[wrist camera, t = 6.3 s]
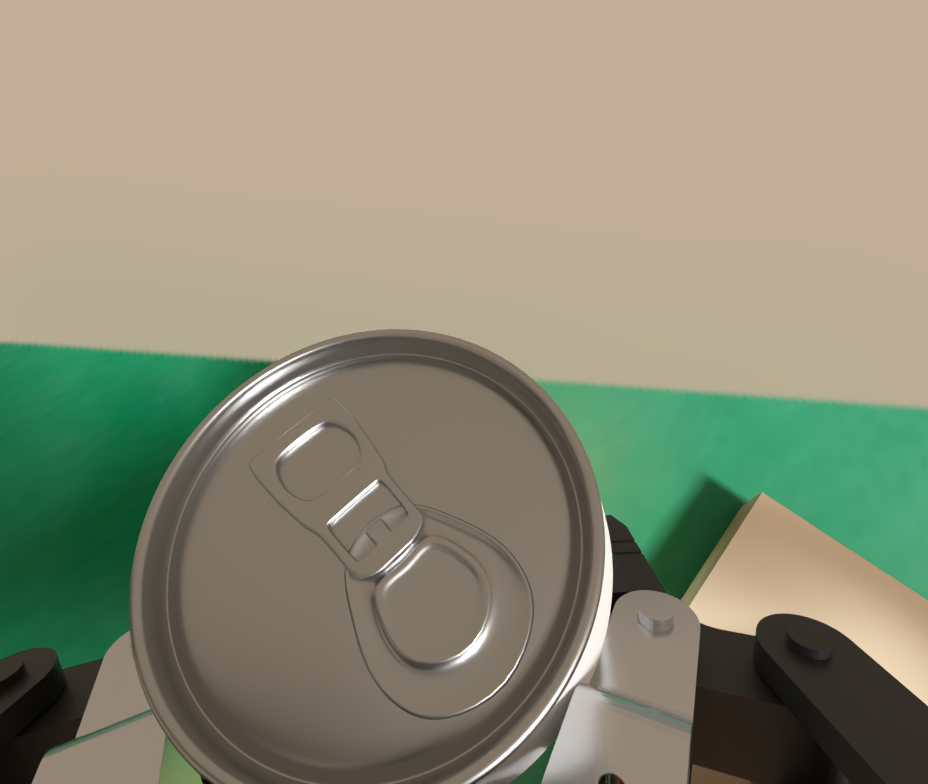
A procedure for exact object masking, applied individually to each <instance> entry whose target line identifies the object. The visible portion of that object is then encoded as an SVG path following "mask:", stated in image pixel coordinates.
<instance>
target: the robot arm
mask: <svg viewBox="0 0 928 784" xmlns="http://www.w3.org/2000/svg"><path fill="white" fill-rule="evenodd" d="M605 517H606V521H607V526H608V530H609V536H610V542H611V551H612V563H613V589H612V602H611V610H610V617H609V622H608V628H607V632H606V636H605V641H604V644H603V648H602V651H601V654H600V657H599V660H598V663H597V666H596V668H595V671H594V673H593V676H592V678H591V680H590V683H589V684H586V683H582V682H581V683H578V685H577V686H576V688H575V690H574V693H573V695H572V698H571V701H570V704H569V707H568V709H567V712H566V715H565V718H564V721H563V723H562V726H561V729H560V732H559V735H558V737H557V740H556V743H555V746H554V749H553V751H552V754H551V757H550V760H549V763H548V765H547V768H546V771H545V774H544V777H543V779H542V782H541V784H691V777H692V764H694V765H697V766H701V767H704V768H708V769H711V770H714V771H718V772H721V773H725V774H728V775H732V776H735V777H739V778H742V779H745V780H749V781H750V783H751V784H928V706H927V705H926V704H925V703H924V702H923V701H921V700H920V699H919V698H918V697H917V696H916V695H914V694H913V693H912V692H911V691H910V690H909V689H907V688H906V687H905V686H904V685H903V684H902V683H900V682H899V681H898V680H897V679H896V678H895V677H893V676H892V675H891V674H890V673H889V672H888V671H886V670H885V669H884V668H883V667H882V666H881V665H879V664H878V663H877V662H876V661H875V660H874V659H872V658H871V657H870V656H869V655H868V654H867V653H865V652H864V651H863V650H862V649H861V648H860V647H859V646H857V645H856V644H855V643H854V642H853V641H852V640H850V639H849V638H848V637H846V636H845V635H844V634H842V633H841V632H839V631H838V630H836V629H834V628H833V627H831V626H829V625H827V624H825V623H822V622H820V621H818V620H815V619H812V618H809V617H805V616H801V615H795V614H785V613H781V614H773V615H769V616H766V617H764V618H763V619H761V620H760V621H759V623H758V624H757V627H756V634H755V636H753V635H748V634H743V633H737V632H732V631H727V630H722V629H717V628H713V627H710V626H707V625H704V624H702V623H700V622H699V619H698V617H697V616H696V614H695V613H694V611H693V610H692V609H691V608H690V607H689V606H688V605H687V604H685V603H684V602H682V601H681V600H679V599H677V598H675V597H673V596H671V595H668V594H666V593H665V591H664V589H663V588H662V586H661V584H660V583H659V581H658V579H657V578H656V576H655V574H654V572H653V571H652V569H651V567H650V566H649V564H648V562H647V561H646V559H645V557H644V555H643V554H641V550H640V549H639V547H638V545H637V544H636V543H635V541H634V538H633V537H632V535H631V533H630V532H629V530H628V528H627V527H626V526H625V525H624V524H622V523H621V522H620V521H618V520H617V519H615V518H614V517H613V516H611V515H607V516H605ZM0 784H210V783H209V782H208V781H206V780H205V779H204V778H203V777H202V776H201V775H199V774H198V773H197V772H196V771H195V770H194V769H193V768H192V767H191V766H190V765H189V764H188V763H187V762H186V761H185V760H184V758H183V757H182V756H181V755H180V754H179V753H178V752H177V750H176V749H175V748H174V746H173V745H172V744H171V742H170V741H169V739H168V738H167V736H166V735H165V733H164V732H163V730H162V729H161V727H160V725H159V724H158V722H157V720H156V718H155V716H154V714H153V712H152V710H151V708H150V706H149V704H148V702H147V699H146V697H145V694H144V692H143V689H142V686H141V683H140V680H139V677H138V673H137V670H136V665H135V661H134V657H133V651H132V645H131V637H130V631H128V632H127V633H125V634H124V635H123V636H121V637H120V638H119V639H118V640H117V641H115V642H114V643H113V645H112V646H111V647H110V648H109V649H108V651H107V652H106V654H105V656H104V658H102V659H99V660H95V661H91V662H88V663H84V664H81V665H77V666H73V667H70V668H66V669H62V667H61V665H60V662H59V659H58V656H57V654H56V652H55V651H54V650H53V649H50V648H35V649H29V650H25V651H22V652H19V653H16V654H13V655H11V656H8V657H6V658H4V659H2V660H0Z"/></svg>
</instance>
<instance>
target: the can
mask: <svg viewBox="0 0 928 784" xmlns="http://www.w3.org/2000/svg"><path fill="white" fill-rule="evenodd" d="M612 589H613V563H612V551H611V542H610V536H609V530H608V526H607V521H606V517H605V513H604V510H603V506H602V503H601V499H600V495H599V490H598V486H597V482H596V479H595V476H594V473H593V469H592V467H591V464H590V461H589V459H588V456H587V454H586V452H585V449H584V447H583V445H582V443H581V441H580V439H579V437H578V436H577V434H576V432H575V430H574V428H573V427H572V425H571V424H570V422H569V421H568V419H567V418H566V416H565V415H564V413H563V412H562V411H561V409H560V408H559V407H558V405H557V404H556V403H555V402H554V401H553V399H552V398H551V397H550V396H549V395H548V394H547V393H546V392H545V391H544V390H543V389H542V388H541V387H540V386H539V385H538V384H537V383H536V382H535V381H534V380H533V379H532V378H530V377H529V376H528V375H527V374H526V373H524V372H523V371H522V370H520V369H519V368H518V367H516V366H515V365H513V364H512V363H510V362H509V361H507V360H505V359H504V358H502V357H500V356H499V355H497V354H495V353H493V352H491V351H489V350H487V349H485V348H483V347H480V346H478V345H476V344H473V343H470V342H468V341H465V340H462V339H459V338H455V337H452V336H447V335H443V334H438V333H433V332H426V331H418V330H400V329H397V330H396V329H395V330H394V329H393V330H392V329H390V330H375V331H366V332H359V333H353V334H349V335H345V336H340V337H336V338H332V339H329V340H325V341H322V342H319V343H317V344H314V345H311V346H308V347H306V348H303V349H301V350H299V351H297V352H294V353H292V354H290V355H289V356H286V357H284V358H282V359H280V360H278V361H276V362H275V363H273V364H271V365H270V366H268V367H266V368H265V369H263V370H261V371H260V372H258V373H257V374H255V375H254V376H252V377H251V378H250V379H248V380H247V381H246V382H244V383H243V384H241V385H240V386H239V387H238V388H236V389H235V390H234V391H233V392H232V393H230V394H229V395H228V396H227V397H226V398H225V399H224V400H223V401H221V402H220V403H219V404H218V405H217V406H216V407H215V408H214V409H213V410H212V411H211V412H210V413H209V414H208V415H207V416H206V417H205V419H204V420H203V421H202V422H201V423H200V424H199V425H198V426H197V428H196V429H195V430H194V431H193V433H192V434H191V435H190V436H189V438H188V439H187V440H186V442H185V443H184V444H183V446H182V447H181V449H180V450H179V451H178V453H177V454H176V456H175V458H174V459H173V461H172V462H171V464H170V466H169V467H168V469H167V471H166V472H165V474H164V476H163V478H162V480H161V482H160V484H159V486H158V488H157V490H156V492H155V494H154V496H153V498H152V501H151V503H150V505H149V508H148V510H147V513H146V516H145V519H144V521H143V524H142V528H141V531H140V534H139V538H138V542H137V545H136V550H135V554H134V559H133V565H132V571H131V579H130V590H129V627H130V637H131V645H132V651H133V657H134V661H135V665H136V670H137V673H138V677H139V680H140V683H141V686H142V689H143V692H144V694H145V697H146V699H147V702H148V704H149V706H150V708H151V710H152V712H153V714H154V716H155V718H156V720H157V722H158V724H159V725H160V727H161V729H162V730H163V732H164V733H165V735H166V736H167V738H168V739H169V741H170V742H171V744H172V745H173V746H174V748H175V749H176V750H177V752H178V753H179V754H180V755H181V756H182V757H183V758H184V760H185V761H186V762H187V763H188V764H189V765H190V766H191V767H192V768H193V769H194V770H195V771H196V772H197V773H198V774H199V775H201V776H202V777H203V778H204V779H205V780H206V781H208V782H209V783H210V784H509V783H511V782H512V781H513V780H515V779H516V778H517V777H518V776H520V775H521V774H522V773H523V772H524V771H525V770H526V769H528V768H529V767H530V766H531V765H532V764H533V763H534V762H535V761H536V760H537V759H538V758H539V757H540V756H541V755H542V754H543V752H544V751H545V750H546V749H547V748H548V747H549V746H550V745H551V743H552V742H553V741H554V740H555V738H556V737H557V736H558V735H559V732H560V729H561V726H562V723H563V721H564V718H565V715H566V712H567V709H568V707H569V704H570V701H571V698H572V695H573V693H574V690H575V688H576V686H577V685H578V683H581V682H582V683H586V684H589V683H590V680H591V678H592V676H593V673H594V671H595V668H596V666H597V663H598V660H599V657H600V654H601V651H602V648H603V644H604V641H605V636H606V632H607V628H608V622H609V617H610V610H611V602H612Z"/></svg>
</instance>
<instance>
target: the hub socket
mask: <svg viewBox="0 0 928 784" xmlns="http://www.w3.org/2000/svg"><path fill="white" fill-rule="evenodd" d="M681 601H682V602H684V603H685V604H687V605H688V606H689V607H690V608H691V609H692V610H693V611H694V613H695V614H696V616H697V617H698V619H699V622H700V623H702V624H704V625H707V626H710V627H713V628H717V629H722V630H727V631H732V632H737V633H743V634H748V635H753V636H755V634H756V627H757V624H758V623H759V621H760V620H761V619H763V618H764V617H766V616H769V615H773V614H781V613H785V614H795V615H801V616H805V617H809V618H812V619H815V620H818V621H820V622H822V623H825V624H827V625H829V626H831V627H833V628H834V629H836V630H838V631H839V632H841V633H842V634H844V635H845V636H846V637H848V638H849V639H850V640H852V641H853V642H854V643H855V644H856V645H857V646H859V647H860V648H861V649H862V650H863V651H864V652H865V653H867V654H868V655H869V656H870V657H871V658H872V659H874V660H875V661H876V662H877V663H878V664H879V665H881V666H882V667H883V668H884V669H885V670H886V671H888V672H889V673H890V674H891V675H892V676H893V677H895V678H896V679H897V680H898V681H899V682H900V683H902V684H903V685H904V686H905V687H906V688H907V689H909V690H910V691H911V692H912V693H913V694H914V695H916V696H917V697H918V698H919V699H920V700H921V701H923V702H924V703H925V704H926V705H927V706H928V601H927V600H926V599H924V598H923V597H921V596H920V595H918V594H917V593H915V592H914V591H912V590H911V589H909V588H907V587H906V586H904V585H903V584H901V583H900V582H898V581H897V580H895V579H894V578H892V577H891V576H889V575H888V574H886V573H885V572H883V571H881V570H880V569H878V568H877V567H875V566H874V565H872V564H871V563H869V562H868V561H866V560H865V559H863V558H862V557H860V556H859V555H857V554H855V553H854V552H852V551H851V550H849V549H848V548H846V547H845V546H843V545H842V544H840V543H839V542H837V541H836V540H834V539H833V538H831V537H830V536H828V535H826V534H825V533H823V532H822V531H820V530H819V529H817V528H816V527H814V526H813V525H811V524H810V523H808V522H807V521H805V520H804V519H802V518H800V517H799V516H797V515H796V514H794V513H793V512H791V511H790V510H788V509H787V508H785V507H784V506H782V505H781V504H779V503H778V502H776V501H774V500H773V499H771V498H770V497H768V496H767V495H765V494H764V493H760V494H759V495H757V496H756V497H754V498H753V499H751V500H750V501H748V502H747V503H745V504H743V505H742V507H741V508H740V510H739V511H738V513H737V514H736V516H735V517H734V519H733V520H732V522H731V523H730V525H729V526H728V528H727V530H726V531H725V533H724V534H723V536H722V537H721V539H720V540H719V542H718V543H717V545H716V546H715V548H714V550H713V551H712V553H711V554H710V556H709V557H708V559H707V560H706V562H705V563H704V565H703V566H702V568H701V569H700V571H699V573H698V574H697V576H696V577H695V579H694V580H693V582H692V583H691V585H690V586H689V588H688V589H687V591H686V593H685V594H684V596H683V597H682V599H681ZM691 784H751V783H750V781H749V780H745V779H742V778H739V777H735V776H732V775H728V774H725V773H721V772H718V771H714V770H711V769H708V768H704V767H701V766H697V765H694V764H692V777H691Z"/></svg>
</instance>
